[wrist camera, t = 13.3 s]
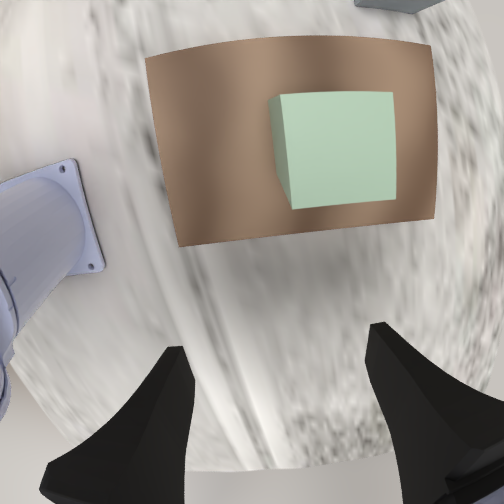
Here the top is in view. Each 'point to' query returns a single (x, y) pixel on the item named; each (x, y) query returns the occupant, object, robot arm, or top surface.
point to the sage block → (334, 147)
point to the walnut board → (260, 134)
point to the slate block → (398, 4)
